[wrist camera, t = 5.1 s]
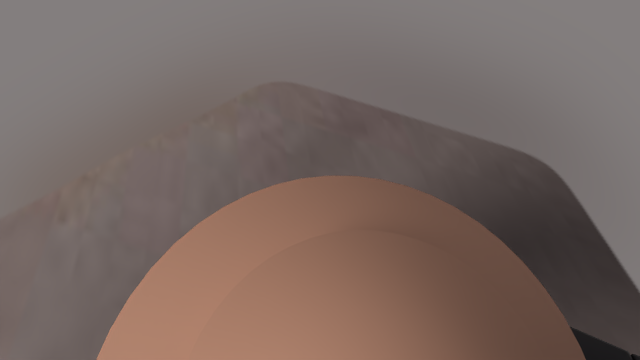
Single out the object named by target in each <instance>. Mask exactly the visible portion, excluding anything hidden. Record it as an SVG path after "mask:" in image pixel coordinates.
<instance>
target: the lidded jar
mask: <svg viewBox="0 0 640 360" xmlns="http://www.w3.org/2000/svg"><path fill="white" fill-rule="evenodd" d="M97 360H586V359H585V356H584V354H583V352H582V349H581V347H580V345H579V343H578V341H577V340H576V338H575V336H574V334H573V332H572V330H571V329H570V327H569V325H568V323H567V321H566V319H565V318H564V316H563V314H562V313H561V311H560V310H559V308H558V307H557V305H556V304H555V302H554V301H553V299H552V298H551V296H550V295H549V294H548V292H547V291H546V289H545V288H544V286H543V285H542V284H541V283H540V282H539V280H538V279H537V278H536V277H535V276H534V274H533V273H532V272H531V271H530V270H529V268H528V267H527V266H526V265H525V263H524V262H523V261H522V260H521V259H520V258H519V257H518V256H517V255H516V254H515V253H514V252H513V251H512V250H510V249H509V248H508V247H507V246H506V245H505V244H504V243H503V242H502V241H501V240H500V239H499V238H497V237H496V236H495V235H494V234H493V233H491V232H490V231H489V230H488V229H486V228H485V227H484V226H483V225H481V224H480V223H479V222H477V221H476V220H474V219H473V218H471V217H470V216H468V215H466V214H465V213H463V212H462V211H460V210H459V209H457V208H456V207H454V206H452V205H450V204H448V203H446V202H444V201H442V200H440V199H438V198H436V197H434V196H432V195H429V194H427V193H424V192H421V191H419V190H416V189H413V188H411V187H408V186H405V185H401V184H397V183H393V182H389V181H385V180H381V179H374V178H366V177H358V176H321V177H311V178H302V179H298V180H293V181H289V182H285V183H280V184H276V185H273V186H270V187H268V188H265V189H262V190H259V191H256V192H254V193H251V194H249V195H247V196H245V197H243V198H241V199H239V200H237V201H235V202H233V203H231V204H229V205H227V206H225V207H223V208H221V209H220V210H218V211H217V212H215V213H214V214H212V215H211V216H209V217H208V218H206V219H205V220H203V221H202V222H200V223H199V224H197V225H196V226H195V227H194V228H193V229H191V230H190V231H189V232H188V233H187V234H185V235H184V236H183V237H182V238H181V239H179V240H178V241H177V242H176V243H175V244H174V245H173V246H172V247H171V248H170V249H169V250H168V251H167V252H166V253H165V254H164V255H163V256H162V257H161V258H160V259H159V260H158V262H157V263H156V264H155V265H154V266H153V267H152V268H151V269H150V270H149V272H148V273H147V274H146V276H145V277H144V278H143V280H142V281H141V282H140V284H139V285H138V286H137V288H136V289H135V290H134V292H133V293H132V294H131V296H130V297H129V299H128V300H127V302H126V304H125V305H124V307H123V309H122V310H121V312H120V314H119V315H118V317H117V319H116V320H115V322H114V324H113V326H112V327H111V329H110V331H109V333H108V335H107V338H106V340H105V342H104V344H103V346H102V349H101V351H100V353H99V355H98V357H97Z"/></svg>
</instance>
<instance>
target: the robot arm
mask: <svg viewBox="0 0 640 360" xmlns="http://www.w3.org/2000/svg"><path fill="white" fill-rule="evenodd" d="M569 327H570V326H569ZM570 329H571V330H572V332H573V334H574V336H575V338H576V340H577V341H578V343H579V345H580V347H581V349H582V352H583V354H584V356H585V359H586V360H640V356H637V355H635V354H632V355H630V354H629V352H628V351H626V350H623V349H621V348H619V347H616V346H614V345H612V344H609V343H607V342H605V341H602V340H600V339H598V338H595V337H593V336H591V335H588V334H586V333H584V332H581V331H579V330H577V329H574V328H572V327H570Z"/></svg>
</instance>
